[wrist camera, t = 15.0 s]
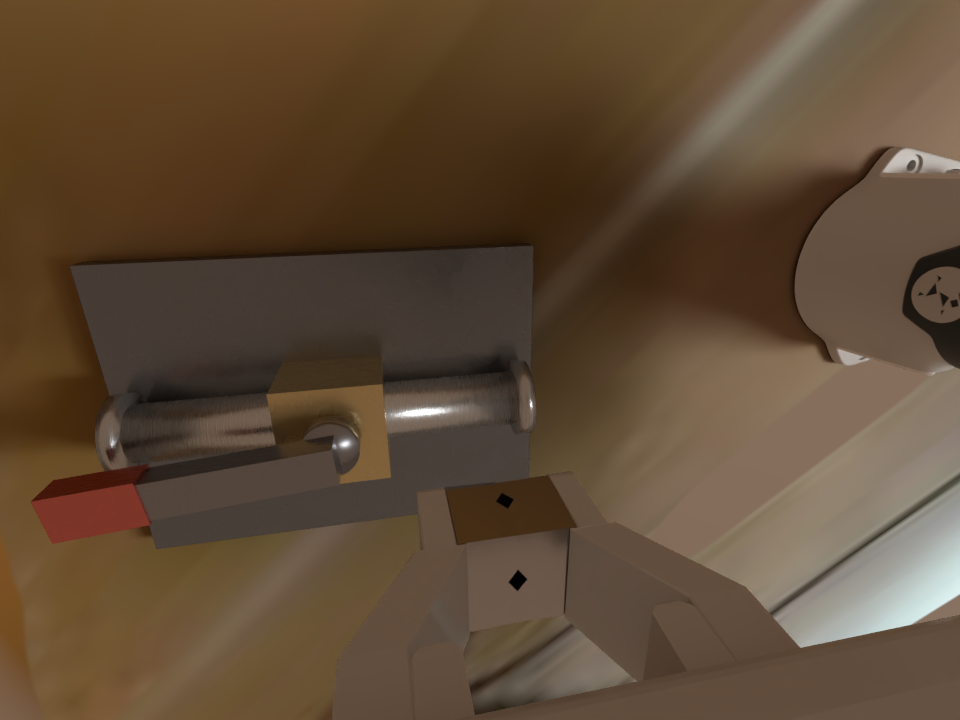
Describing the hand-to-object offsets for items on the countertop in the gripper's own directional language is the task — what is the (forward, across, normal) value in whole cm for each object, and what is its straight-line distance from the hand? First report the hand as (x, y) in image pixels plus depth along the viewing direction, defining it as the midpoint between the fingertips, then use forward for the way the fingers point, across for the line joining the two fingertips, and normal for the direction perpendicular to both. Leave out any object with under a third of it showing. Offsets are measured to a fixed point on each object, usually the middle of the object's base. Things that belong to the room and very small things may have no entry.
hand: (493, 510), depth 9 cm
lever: (+22, +12, +11) cm, 27 cm away
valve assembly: (+29, +6, +10) cm, 31 cm away
